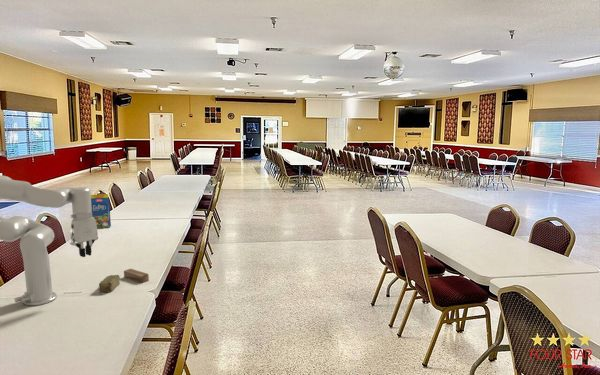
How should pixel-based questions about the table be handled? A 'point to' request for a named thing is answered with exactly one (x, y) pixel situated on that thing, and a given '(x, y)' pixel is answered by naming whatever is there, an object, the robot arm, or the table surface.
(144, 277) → the brown rectangular bar
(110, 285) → the stone block
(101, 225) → the blue food package
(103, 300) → the table surface
